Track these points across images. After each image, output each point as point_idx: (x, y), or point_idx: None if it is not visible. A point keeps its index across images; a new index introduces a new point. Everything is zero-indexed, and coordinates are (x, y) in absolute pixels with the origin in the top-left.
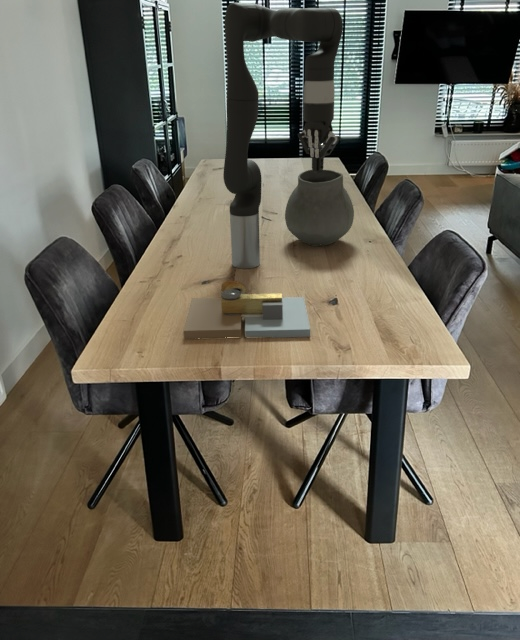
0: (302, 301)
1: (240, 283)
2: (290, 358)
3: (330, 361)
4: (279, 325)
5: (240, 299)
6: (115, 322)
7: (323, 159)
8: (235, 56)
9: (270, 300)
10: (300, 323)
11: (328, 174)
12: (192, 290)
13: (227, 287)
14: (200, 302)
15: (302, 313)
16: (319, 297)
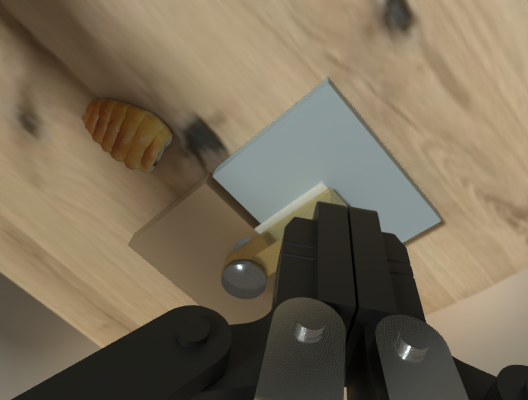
0: (342, 110)
1: (137, 128)
2: (443, 288)
3: (519, 264)
4: None
5: (270, 273)
6: (102, 335)
7: (423, 318)
8: None
9: None
10: (407, 211)
11: None
12: (56, 176)
13: (136, 167)
14: (160, 249)
15: (383, 169)
16: (341, 9)
